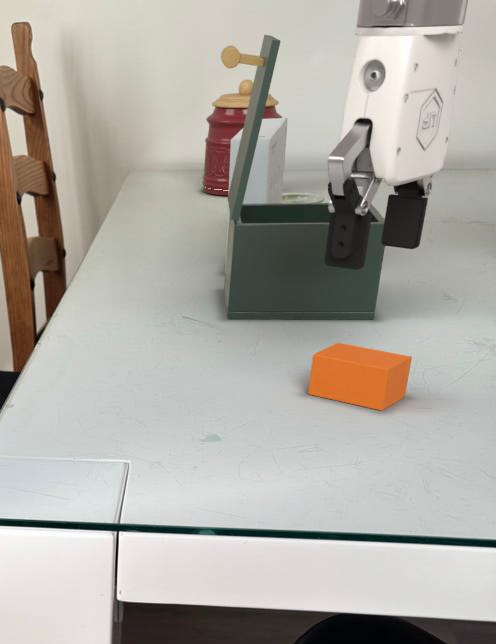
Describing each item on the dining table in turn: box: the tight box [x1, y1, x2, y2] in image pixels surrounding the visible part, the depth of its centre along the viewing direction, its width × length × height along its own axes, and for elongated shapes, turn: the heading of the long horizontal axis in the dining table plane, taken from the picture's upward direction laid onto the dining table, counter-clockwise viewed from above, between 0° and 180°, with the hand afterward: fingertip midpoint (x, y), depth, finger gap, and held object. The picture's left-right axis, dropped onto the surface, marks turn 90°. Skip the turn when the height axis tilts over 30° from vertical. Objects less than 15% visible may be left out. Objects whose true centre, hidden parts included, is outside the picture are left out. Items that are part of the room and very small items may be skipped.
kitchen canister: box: [202, 79, 283, 197], centre depth 176 cm, size 13×13×18 cm
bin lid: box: [220, 34, 281, 221], centre depth 106 cm, size 16×13×5 cm
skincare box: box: [224, 117, 288, 271], centre depth 131 cm, size 21×5×16 cm, turn 162°
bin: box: [223, 202, 386, 321], centre depth 112 cm, size 16×13×10 cm
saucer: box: [282, 192, 325, 203], centre depth 160 cm, size 10×10×2 cm
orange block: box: [307, 342, 413, 412], centre depth 87 cm, size 7×4×4 cm, turn 47°
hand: (372, 256), depth 82 cm, fingers open, 9 cm apart
